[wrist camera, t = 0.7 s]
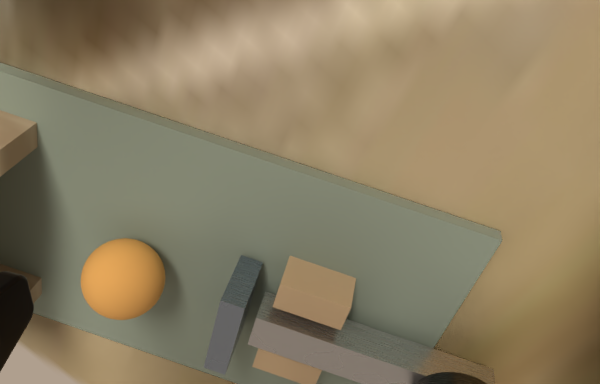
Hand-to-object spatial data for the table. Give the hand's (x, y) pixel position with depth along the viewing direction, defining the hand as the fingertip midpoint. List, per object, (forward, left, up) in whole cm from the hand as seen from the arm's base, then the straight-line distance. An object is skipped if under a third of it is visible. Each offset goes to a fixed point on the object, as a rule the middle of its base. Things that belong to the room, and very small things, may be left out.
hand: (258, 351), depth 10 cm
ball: (+6, +11, -10) cm, 16 cm away
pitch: (+4, +11, -12) cm, 16 cm away
